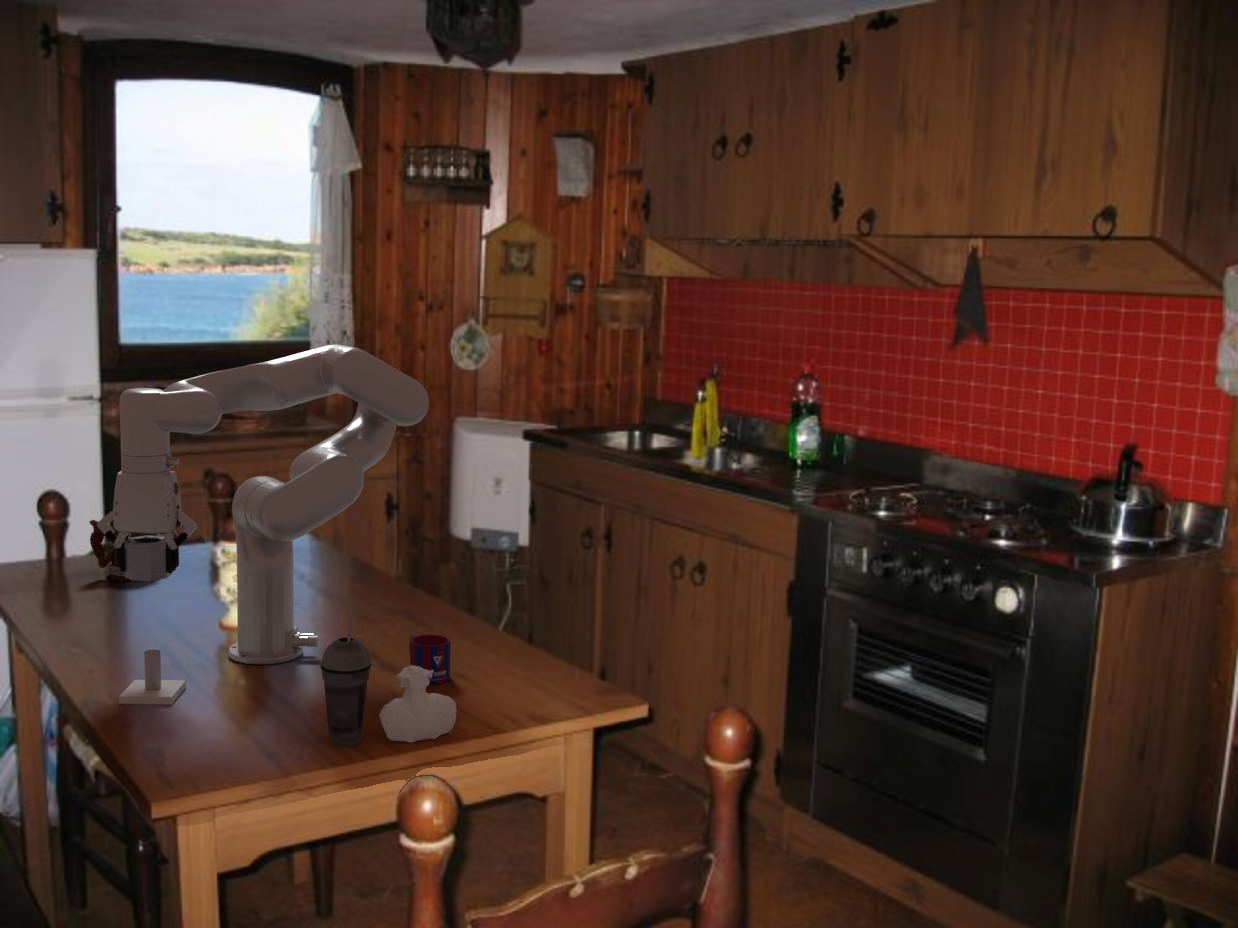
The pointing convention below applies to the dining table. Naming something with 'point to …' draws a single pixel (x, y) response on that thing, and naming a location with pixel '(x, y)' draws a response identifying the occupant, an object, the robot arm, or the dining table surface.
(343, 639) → the beverage cup
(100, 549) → the mug
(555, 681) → the dining table surface
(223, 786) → the dining table surface
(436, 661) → the cup
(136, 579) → the ring
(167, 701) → the shaft block
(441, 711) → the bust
